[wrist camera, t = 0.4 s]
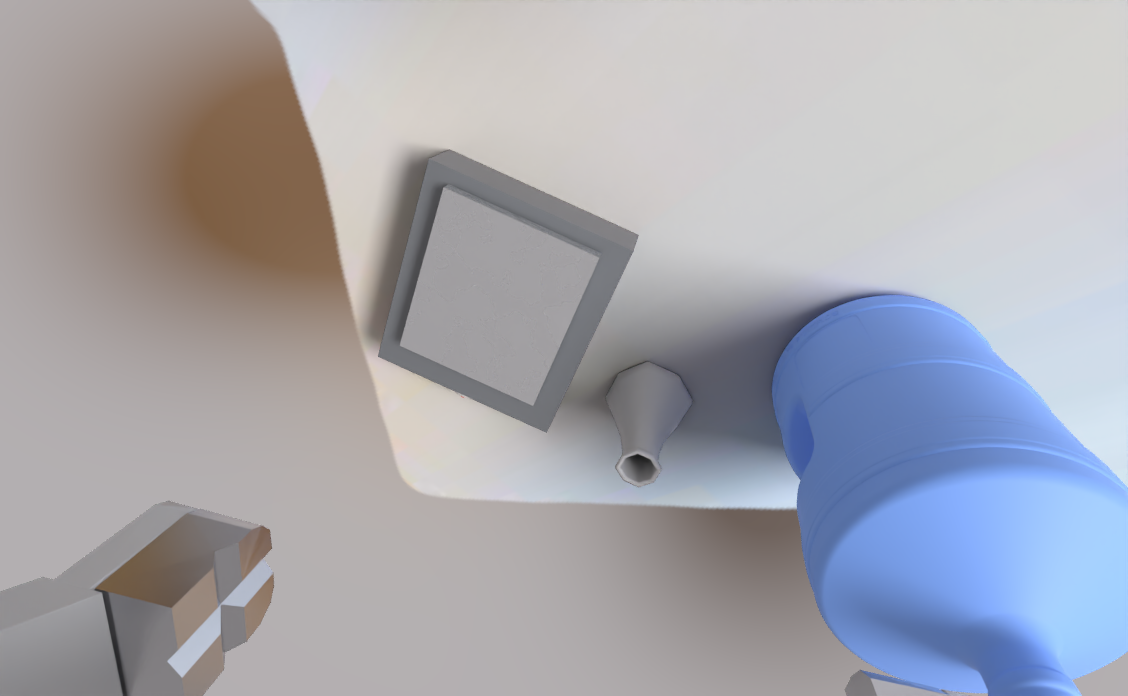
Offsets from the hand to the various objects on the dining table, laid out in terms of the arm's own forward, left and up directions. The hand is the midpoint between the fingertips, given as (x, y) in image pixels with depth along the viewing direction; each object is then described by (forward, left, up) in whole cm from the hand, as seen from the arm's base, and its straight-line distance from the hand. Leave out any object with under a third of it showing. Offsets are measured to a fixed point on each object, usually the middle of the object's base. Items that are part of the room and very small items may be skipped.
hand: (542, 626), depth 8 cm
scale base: (+15, -8, -39) cm, 43 cm away
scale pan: (+14, -8, -35) cm, 39 cm away
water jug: (+9, +22, -40) cm, 46 cm away
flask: (+19, +7, -40) cm, 45 cm away
